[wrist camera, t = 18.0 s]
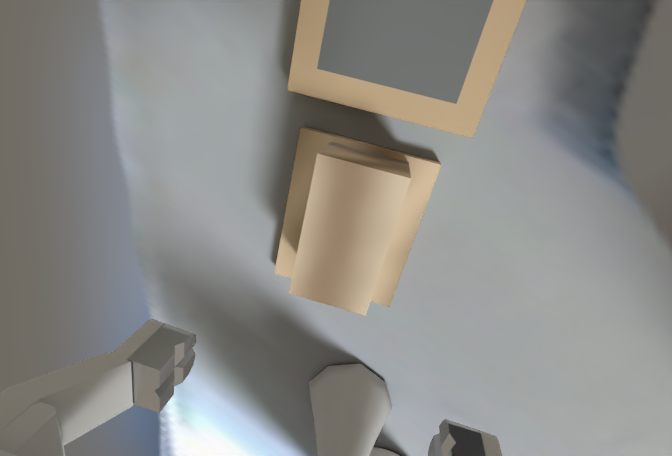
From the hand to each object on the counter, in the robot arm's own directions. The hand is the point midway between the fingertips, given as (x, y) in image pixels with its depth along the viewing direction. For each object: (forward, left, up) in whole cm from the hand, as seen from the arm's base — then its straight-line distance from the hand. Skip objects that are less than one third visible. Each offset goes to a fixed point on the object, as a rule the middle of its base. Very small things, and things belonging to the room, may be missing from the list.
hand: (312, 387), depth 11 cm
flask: (-3, +16, -15) cm, 22 cm away
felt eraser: (+1, 0, -14) cm, 14 cm away
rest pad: (+1, 0, -15) cm, 14 cm away
